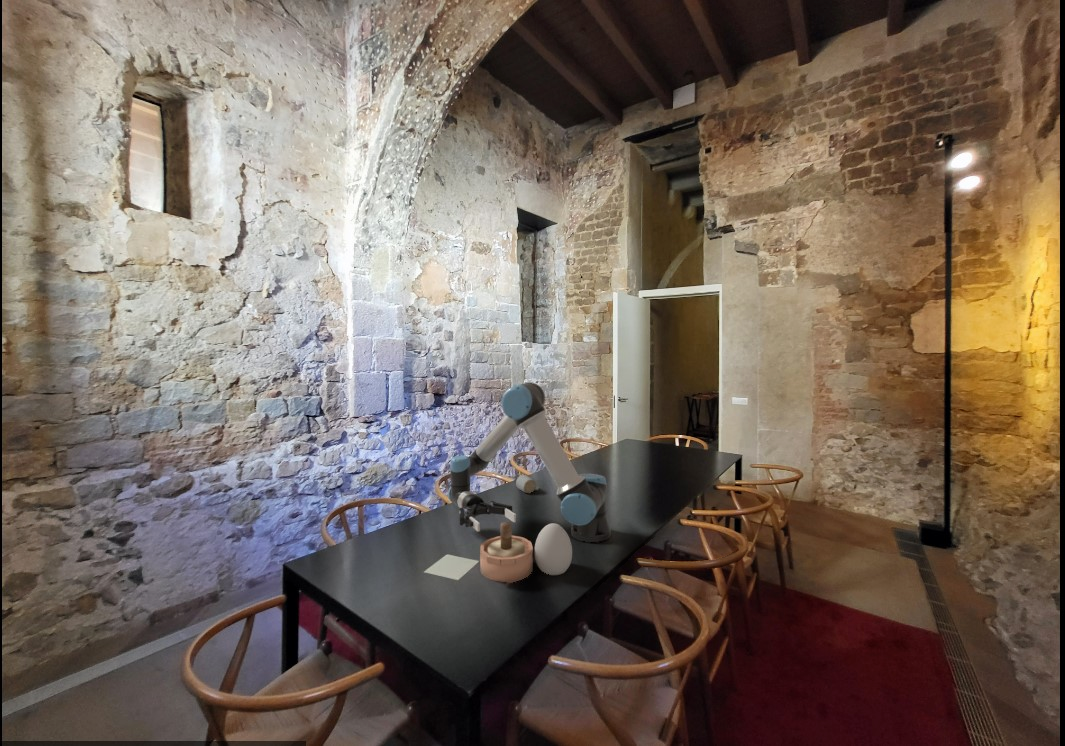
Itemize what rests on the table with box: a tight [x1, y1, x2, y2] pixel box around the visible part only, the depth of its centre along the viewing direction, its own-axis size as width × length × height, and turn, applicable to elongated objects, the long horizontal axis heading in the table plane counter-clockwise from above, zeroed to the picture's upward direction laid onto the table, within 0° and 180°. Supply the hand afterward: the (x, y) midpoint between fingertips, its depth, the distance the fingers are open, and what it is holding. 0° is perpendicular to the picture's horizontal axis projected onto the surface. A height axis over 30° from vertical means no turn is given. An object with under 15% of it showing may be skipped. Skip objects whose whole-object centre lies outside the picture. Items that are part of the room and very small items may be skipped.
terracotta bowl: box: [479, 534, 534, 584], centre depth 144 cm, size 17×17×8 cm
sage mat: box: [423, 554, 480, 581], centre depth 145 cm, size 13×13×1 cm
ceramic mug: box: [515, 474, 540, 494], centre depth 221 cm, size 11×8×8 cm
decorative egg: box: [533, 522, 573, 576], centre depth 143 cm, size 12×12×15 cm
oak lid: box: [488, 521, 525, 558], centre depth 143 cm, size 12×12×9 cm
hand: (497, 522), depth 148 cm, fingers open, 13 cm apart
